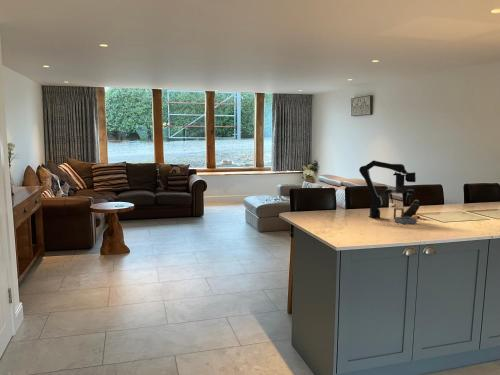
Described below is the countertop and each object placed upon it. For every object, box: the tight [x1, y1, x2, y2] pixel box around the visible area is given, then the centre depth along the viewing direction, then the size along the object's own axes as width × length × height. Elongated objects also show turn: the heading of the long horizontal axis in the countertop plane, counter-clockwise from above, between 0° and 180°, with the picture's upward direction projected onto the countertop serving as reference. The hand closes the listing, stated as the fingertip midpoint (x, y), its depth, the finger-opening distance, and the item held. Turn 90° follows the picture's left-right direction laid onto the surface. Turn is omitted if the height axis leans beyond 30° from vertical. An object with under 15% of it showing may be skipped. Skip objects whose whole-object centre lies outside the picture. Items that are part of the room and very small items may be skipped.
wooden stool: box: [393, 206, 405, 221], centre depth 297 cm, size 6×6×8 cm
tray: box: [394, 216, 417, 225], centre depth 284 cm, size 10×10×3 cm
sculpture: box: [404, 199, 421, 219], centre depth 305 cm, size 6×13×13 cm, turn 52°
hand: (399, 203), depth 296 cm, fingers open, 9 cm apart
